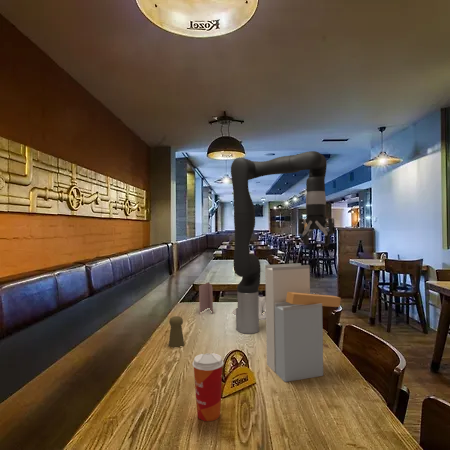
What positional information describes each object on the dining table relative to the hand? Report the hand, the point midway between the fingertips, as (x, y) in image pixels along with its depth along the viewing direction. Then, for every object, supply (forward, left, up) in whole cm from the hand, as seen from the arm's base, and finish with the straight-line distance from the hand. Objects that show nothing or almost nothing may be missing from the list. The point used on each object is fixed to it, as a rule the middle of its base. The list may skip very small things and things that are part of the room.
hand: (316, 245), depth 131 cm
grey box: (+9, -29, -38) cm, 49 cm away
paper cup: (+4, -63, -38) cm, 74 cm away
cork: (-40, -38, -38) cm, 67 cm away
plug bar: (+12, -24, -17) cm, 32 cm away
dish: (-45, +19, -39) cm, 62 cm away
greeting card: (-65, +4, -38) cm, 76 cm away
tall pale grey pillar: (+3, -25, -38) cm, 46 cm away
